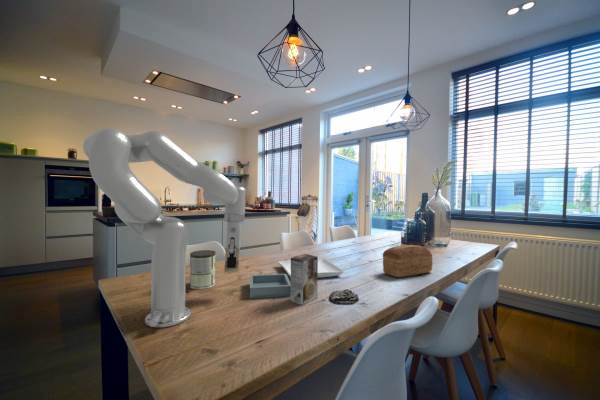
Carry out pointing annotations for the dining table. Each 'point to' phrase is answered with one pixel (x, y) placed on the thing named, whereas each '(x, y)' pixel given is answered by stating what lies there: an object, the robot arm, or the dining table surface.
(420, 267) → the bread
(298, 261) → the coffee box
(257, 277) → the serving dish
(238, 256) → the oak block
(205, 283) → the coffee can
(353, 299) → the dark grey coiled lump
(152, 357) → the dining table surface
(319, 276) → the square plate
